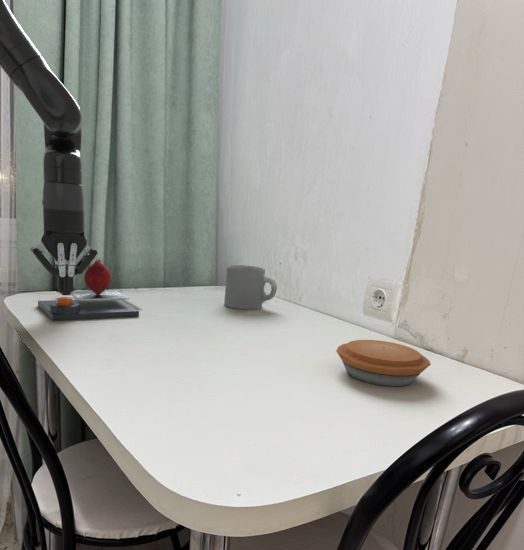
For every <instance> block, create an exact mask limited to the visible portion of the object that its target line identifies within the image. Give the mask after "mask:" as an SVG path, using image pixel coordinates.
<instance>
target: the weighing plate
mask: <svg viewBox="0 0 524 550" xmlns="http://www.w3.org/2000/svg"><path fill="white" fill-rule="evenodd" d="M69 296H71V297H73V298H74V299H75V300H79V301H91V300H121V301H123V300H129V299H130V297H128V296H127V295H125V294H123V293H121V292H120V291H118V290H115V289H112V290H111V289H106V290H105V291H103V292H102V293H101V294H96V293H94V292H93V291H92V290H73V292H71V294H70V295H69Z"/></svg>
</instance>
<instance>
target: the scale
mask: <svg viewBox="0 0 524 550" xmlns="http://www.w3.org/2000/svg"><path fill="white" fill-rule="evenodd" d="M37 307H38V308H39V310H40V311H41V312H42V313H44V314H45V315H46V317H48V319H50V320H51V321H52V322H65V321H85V320H102V319H103V320H104V319H122V318H123V319H124V318H139V317H140V311H139V309H136V308H134V307H133V306H131V305H130V304H128V303H126V302H125V301H124V300H91V301H79V300H77V299H72V305H70V306H60V305H58V304H57V299H55V300H54V299H53V300H52V299H51V300H37Z"/></svg>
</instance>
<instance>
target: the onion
mask: <svg viewBox="0 0 524 550" xmlns="http://www.w3.org/2000/svg"><path fill="white" fill-rule="evenodd" d="M112 281H113V280H112V274H111V271H110V270H109V268H108V267H107V266H106V265H105V264H104V263H102V259H101V258H96V259H95V261H94V263H92V264H90V265H89V266H88V267H87V268H86V269H85V273H84V284H85V285H86V287H87V288H88V289H89V291H93V292H94V293H96V294H101V293H102V292H103V291H105V290H108V289H109V287H110V286H111V284H112Z"/></svg>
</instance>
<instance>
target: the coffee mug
mask: <svg viewBox="0 0 524 550" xmlns="http://www.w3.org/2000/svg"><path fill="white" fill-rule="evenodd" d="M225 275H226V276H225V286H224V287H225V289H224V302H223V303H224V306H225V307H227V308H231V309H235V310H236V309H237V310H246V311H248V310H249V311H252V310H253V311H254V310H261V309H262V308H263V307H262V306H263V303H264V302H266V301H270V300H272V299H273V298H275V296H276V294H277V282H276V280H275V278H272V277H269V276H266V269H265V268H263V267H259V266H254V265H245V264H229V265H227V266H226V273H225ZM266 283H269V285H270V287H271V289H270V293H268V294H267V293H266V292H265V291H266V290H265V285H266Z"/></svg>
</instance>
